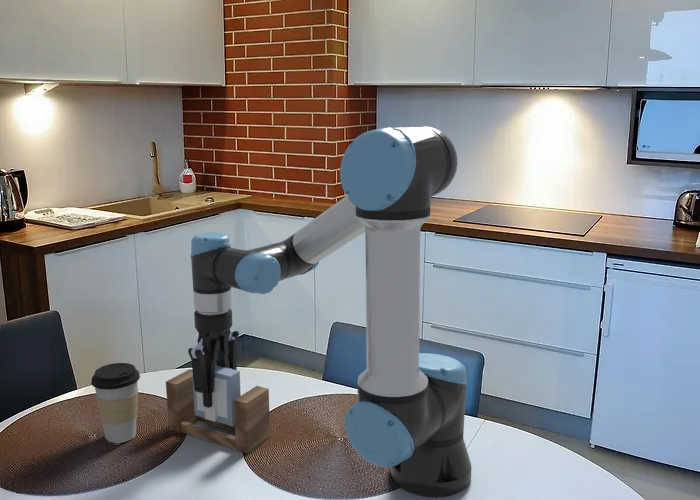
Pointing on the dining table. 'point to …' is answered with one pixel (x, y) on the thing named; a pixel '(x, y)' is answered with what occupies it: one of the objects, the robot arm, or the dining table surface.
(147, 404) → the dining table surface
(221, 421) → the door panel
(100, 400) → the coffee cup
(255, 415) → the track
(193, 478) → the dining table surface
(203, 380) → the robot arm
